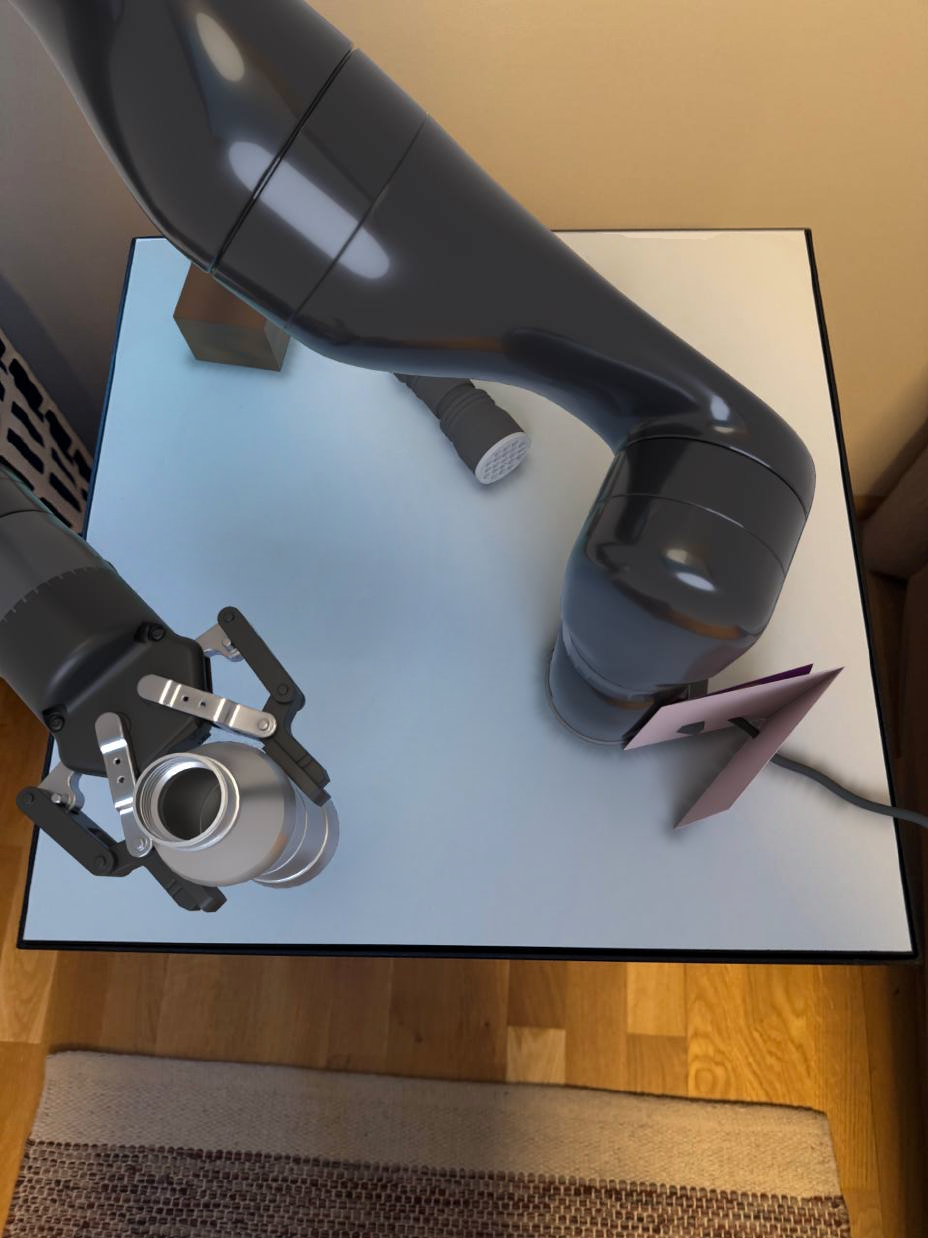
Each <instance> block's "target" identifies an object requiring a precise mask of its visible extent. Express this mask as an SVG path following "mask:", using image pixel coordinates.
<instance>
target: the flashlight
mask: <svg viewBox="0 0 928 1238" xmlns="http://www.w3.org/2000/svg"><path fill="white" fill-rule="evenodd" d="M392 374H393V376H394V377H395V378H396V379H397V380H398V381H399V382H400V383H402V384H405V385H406V386H407V387H408V388H409V389H410V390H411V391H412V393H413V394H414V395H415V397H416V398H418V399H419V400H420V401H422V402H423V403H424V405H425V406H426V407H427V408H428V410H429V411H430V412H431V414H433V416H434V417H435V418H436V419H438V421H439V428H440V432H442V433H443V434H444V436H445V437H446V438H447V439H448V441H449V442H450V443H452V444H453V446H454V449H455V451H456V453H457V456H458V457H459V459H460V460H461V461H462V462H463V464H465V466H466V467H467V468H468V469H469V471H470V472H471V473H472V474H473V475H474V477H475V478H476V479H477V481H478V482H479V483H481V484H484V485H485V484H486V485H488V484H492V483H495V482H497V481H499V480H502V479H503V478H504V477H506V476H507V475H509V474H510V473H511V472H512V471H514V470H515V469H516V468H517V467H518V466H519V465H520V463H522V461H524V459H525V458H526V456H527V455H528V453H529V451H530V449H531V446H532V440H531V439H532V438H530V437H529V435H528V434H527V433H526V432H525V431H524V429H523V428H522V427H521V426H520V425H519V424H518V423H517V421H516V420H515V419H514V418H513V417H512V415H511V413H509V412H508V411H506V410H504V409H503V408H502V407H501V406H498V405H497V403H496V401H495V400H494V399H493V398H492V396H491V395H490V394H488V392H487V391H486V390H485V389H482V388H476V385H475V384H474V383H473V381H472V379H459V378H445V377H432V376H420V375H408V374H400V373H392Z"/></svg>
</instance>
